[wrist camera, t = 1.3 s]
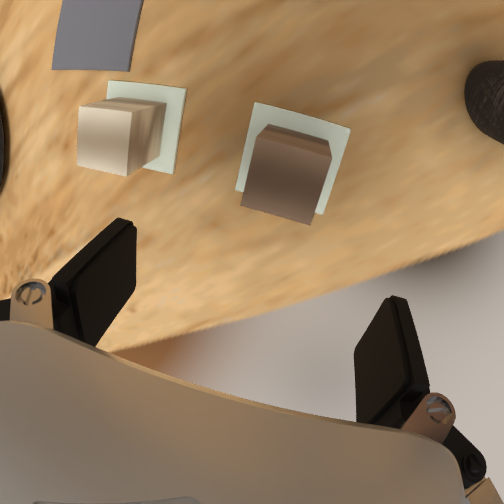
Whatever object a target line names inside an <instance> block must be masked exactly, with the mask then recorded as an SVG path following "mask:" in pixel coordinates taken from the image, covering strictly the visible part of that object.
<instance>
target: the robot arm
mask: <svg viewBox="0 0 504 504" xmlns="http://www.w3.org/2000/svg"><path fill="white" fill-rule="evenodd" d="M136 241H137V228H136V227H135V226H133V222H132V221H129V220H125V219H122V218H117V219H115V220H114V221H113V222H112V223H111V224H110V225H108V226H107V227H106V228H105V229H104V230H103V231H102V232H100V233H99V234H98V235H97V236H96V237H95V238H94V239H93V240H91V241H90V242H89V243H88V244H87V245H86V246H85V247H84V248H83V249H82V250H80V251H79V252H78V253H77V254H76V255H75V256H74V257H73V258H72V259H71V260H70V261H69V262H68V263H67V264H66V265H65V266H63V267H62V268H61V269H60V270H59V271H58V272H57V273H56V274H55V275H54V276H53V277H52V280H51V281H50V282H49V283H48V284H47V282H45V281H43V280H41V279H28V280H25V281H23V282H21V283H19V284H18V285H17V286H16V287H15V288H14V289H13V291H12V295H11V298H10V299H5V300H0V504H504V503H503V502H502V500H501V498H500V496H499V494H498V492H497V490H496V489H495V487H494V485H493V484H492V482H491V480H490V478H489V477H488V478H487V479H485V477H484V476H485V474H486V461H485V459H484V456H483V455H482V454H481V452H480V451H479V450H478V449H477V448H476V447H475V446H474V445H473V444H472V443H471V442H470V441H468V440H467V439H466V438H465V437H464V436H463V435H462V434H461V433H460V432H459V431H458V430H457V429H456V428H455V427H454V426H453V424H454V421H455V418H456V415H455V409H454V407H453V405H452V403H451V402H450V401H449V400H448V399H447V397H445V396H444V395H442V394H439V393H430V389H429V386H430V384H429V380H428V375H427V371H426V367H425V363H424V359H423V355H422V351H421V347H420V344H419V340H418V336H417V332H416V329H415V325H414V322H413V319H412V315H411V312H410V309H409V306H408V302H407V300H406V299H404V298H400V297H397V296H393V295H392V296H391V297H390V298H386V299H385V300H384V301H383V303H382V305H381V306H380V308H379V310H378V311H377V313H376V315H375V316H374V318H373V320H372V321H371V323H370V325H369V326H368V328H367V330H366V331H365V333H364V335H363V336H362V338H361V339H360V341H359V342H358V344H357V346H356V348H355V351H354V367H355V388H356V418H357V419H356V422H352V421H346V420H341V419H335V418H329V417H324V416H318V415H313V414H308V413H303V412H298V411H294V410H289V409H284V408H280V407H276V406H272V405H267V404H263V403H259V402H255V401H251V400H248V399H244V398H240V397H236V396H233V395H229V394H226V393H222V392H219V391H215V390H212V389H209V388H205V387H202V386H199V385H196V384H193V383H190V382H186V381H184V380H180V379H177V378H174V377H171V376H168V375H166V374H163V373H160V372H157V371H154V370H152V369H149V368H146V367H144V366H141V365H138V364H136V363H133V362H131V361H127V360H125V359H123V358H121V357H118V356H116V355H113V354H111V353H108V352H106V351H103V350H101V349H98V348H96V347H95V346H96V345H97V343H98V342H99V340H100V339H101V337H102V336H103V334H104V333H105V332H106V330H107V329H108V327H109V326H110V324H111V323H112V322H113V320H114V319H115V317H116V316H117V314H118V313H119V312H120V310H121V309H122V307H123V306H124V305H125V303H126V302H127V300H128V299H129V298H130V296H131V295H132V294H133V292H134V290H135V287H136Z"/></svg>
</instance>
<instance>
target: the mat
mask: <svg viewBox="0 0 504 504" xmlns="http://www.w3.org/2000/svg"><path fill="white" fill-rule="evenodd" d="M143 1H144V0H63V3H62V7H61V12H60V17H59V22H58V28H57V34H56V40H55V47H54V54H53V62H52V70H111V71H127V72H128V71H130V66H131V60H132V54H133V48H134V43H135V38H136V32H137V27H138V23H139V18H140V13H141V9H142V5H143Z"/></svg>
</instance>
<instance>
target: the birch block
mask: <svg viewBox="0 0 504 504" xmlns="http://www.w3.org/2000/svg"><path fill="white" fill-rule="evenodd" d="M166 106H167V103H163V102H156V101H149V100H142V99H134V98H125V97H116V98H112V99H107V100H103V101H98V102H94V103H90V104H86V105H82V106H79V117H78V138H77V166H82V167H86V168H91V169H95V170H100V171H104V172H109V173H113V174H117V175H122V176H126V177H127V176H128V175H130V174H131V173H133V172H135V171H136V170H138V169H139V168H141V167H142V166H144V165H146V164H147V163H149V162H151V161H152V160H154V159H156V158H157V157H159V156H160V149H161V141H162V133H163V126H164V119H165V112H166Z"/></svg>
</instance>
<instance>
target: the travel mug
mask: <svg viewBox="0 0 504 504" xmlns="http://www.w3.org/2000/svg"><path fill="white" fill-rule="evenodd" d="M465 102H466V106H467V110H468V113H469V115H470V117H471V119H472V120H473V122H474V123H475V125H476V126H477V127H478V128H479V129H480V130H481V131H482V132H483V133H485V134H486V135H488V136H489V137H491V138H493V139H495V140H497V141H498V142H500V143H502V144H504V60H503V61H488V62H484V63H481V64H479V65H477V66H476V67H475V68H474V69H473V70H472V71H471V73H470V74H469V76H468V78H467V81H466V86H465Z"/></svg>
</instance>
